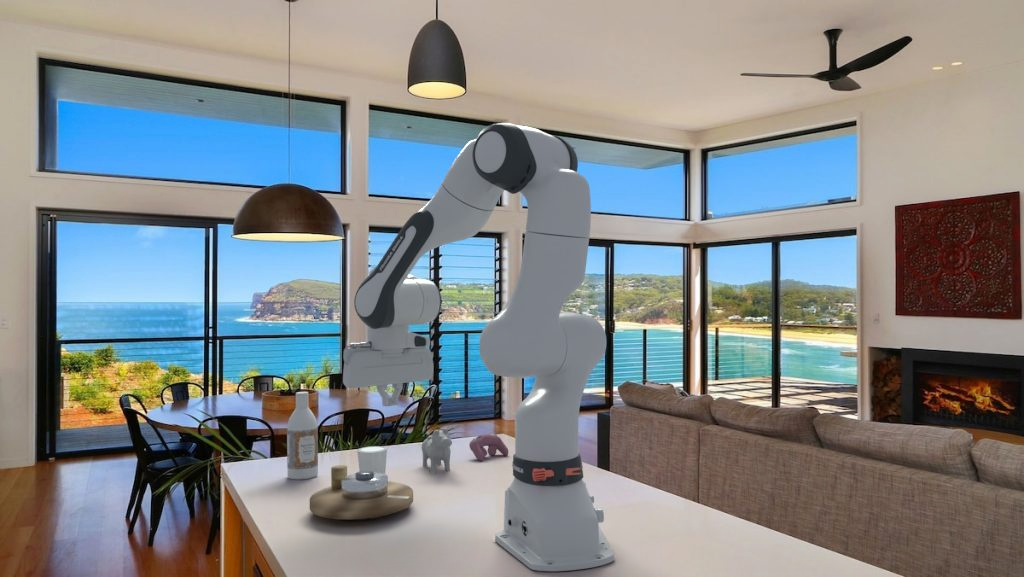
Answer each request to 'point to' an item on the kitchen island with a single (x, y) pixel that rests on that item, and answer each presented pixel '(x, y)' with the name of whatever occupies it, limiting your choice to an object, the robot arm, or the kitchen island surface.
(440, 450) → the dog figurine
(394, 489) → the turntable
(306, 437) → the bath foam
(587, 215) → the robot arm
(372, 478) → the cover
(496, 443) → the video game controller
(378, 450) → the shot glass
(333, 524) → the kitchen island surface
